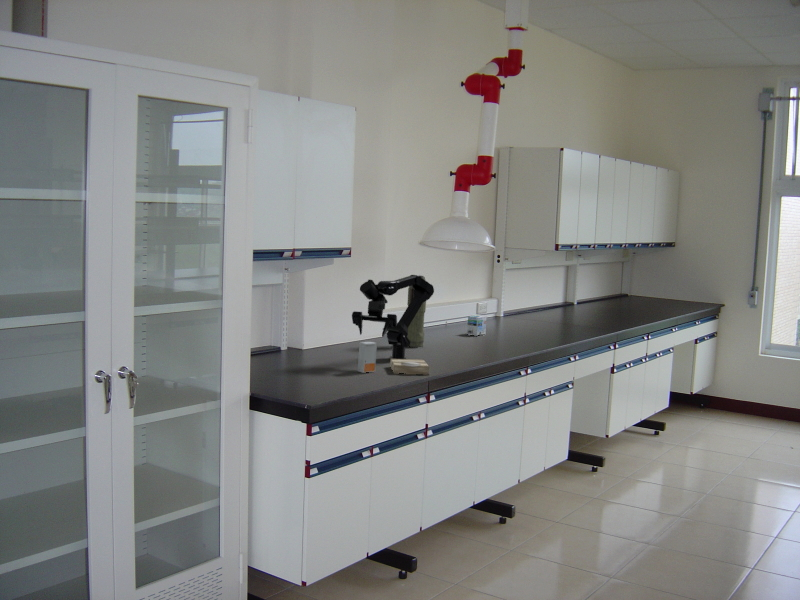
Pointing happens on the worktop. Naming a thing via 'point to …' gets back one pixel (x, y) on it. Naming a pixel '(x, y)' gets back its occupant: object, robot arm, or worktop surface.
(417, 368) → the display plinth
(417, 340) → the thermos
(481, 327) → the light bulb box
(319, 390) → the worktop surface
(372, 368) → the skincare box
